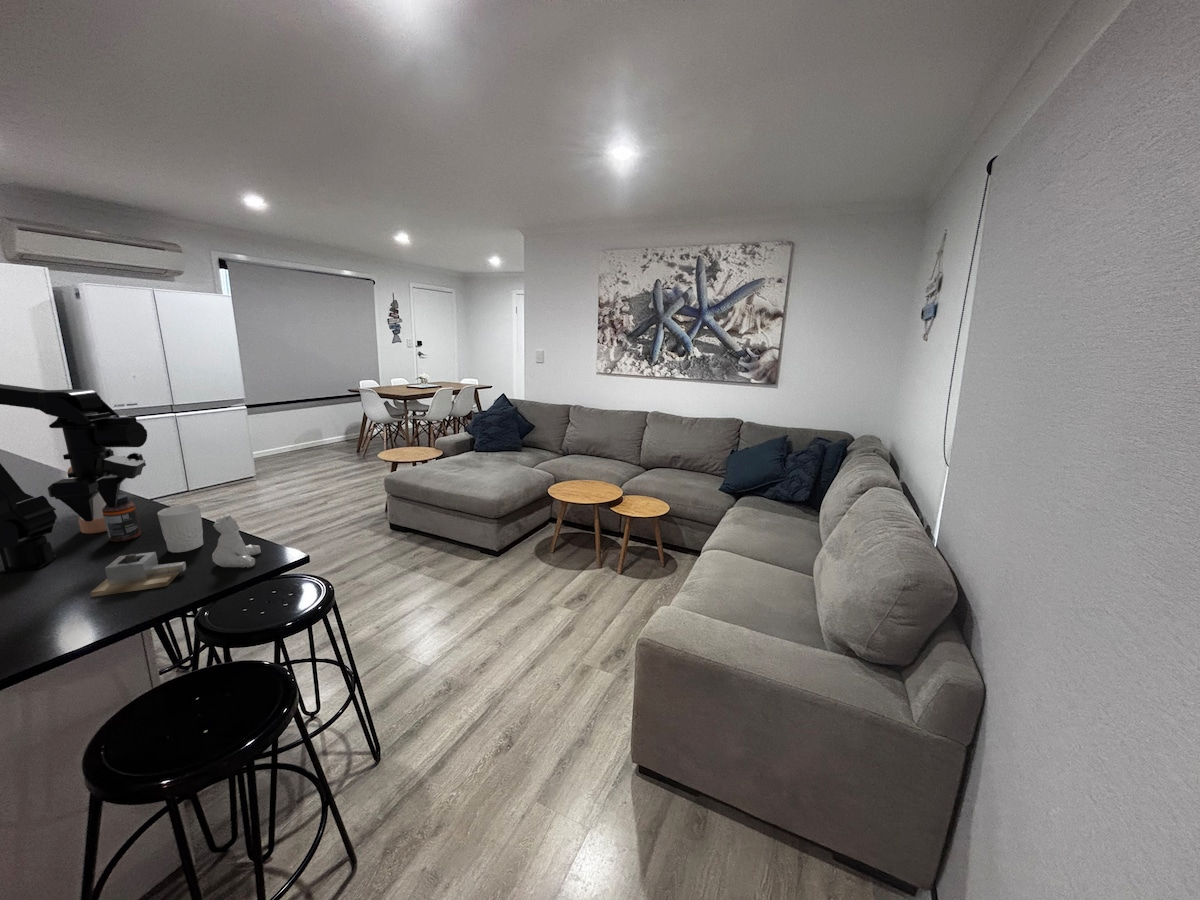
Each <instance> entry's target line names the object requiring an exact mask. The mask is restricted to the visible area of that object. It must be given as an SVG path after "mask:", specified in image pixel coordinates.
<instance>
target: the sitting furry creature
mask: <svg viewBox="0 0 1200 900" xmlns="http://www.w3.org/2000/svg"><path fill="white" fill-rule="evenodd" d="M231 515H232V514H230V513H227V514H226V513H225V514H223V516H222V515H221V516H218V518H217V519H216V520H215V522H214V523H213V527H214V529H215V530H216V531H217V532H218V533H220V536H219V538H218V539H217V546H216V548H214V551H213V553H212V555H211V557H212V562H213V563H215V565H217V566H218V567H221V568H245V567H247V568H251V567H254V566H255V564H256V558H254V557H252V556H254V555H258V554H261V546H260V545H258V544H257V545H255V544H248V545H246V544H245V542H244V541H243V538H242V537H241V534H240V531H239V530H240V529H241V527H240V526H239V524H238V521H237V519H234V518H233V516H231Z"/></svg>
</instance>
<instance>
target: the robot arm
mask: <svg viewBox="0 0 1200 900" xmlns="http://www.w3.org/2000/svg"><path fill="white" fill-rule="evenodd" d="M0 405H3V406H11V407H18V408H25V409H26V408H27V409H34V410H36V411H37V410H38V411H40V412H42V413H44V414H45V415H48V416H52V417H56V420H54V421H52V422H51V423H50V424H48V427H49V428H50V429H62V433H63V437H64V442H65V446H66V450H67V453H65V454H63V455H62V458H63V460H64V461H65V460H66V461H67V460H69V464H70V467H71V468H72V472H70V473H67V472H66V473H67V478H62V479H60V480H58V481H55V482H53V483H51V484H50V485H49V486H48V487H47V492H48V496H49V497H50V498H55V499H56V500H60V501H61V502H62V503H63V504H65V506H68V507H69V508H70V509H71V510H73V512H75V513H76V514H77V515H78V517H79V518H80V517H81V518H83V519H84V520H85V521H86V522H89V521H93V516H94V513H93V497H94V496H95V495H96V494H97V493H100V495H101V497H102V498H103V500H104V501H105V503H106V504H107V505H108V507H109V508H113V507H116V504H117V499H118V495H119V493H120V488H121V484H122V483H123V482H124V481H125V480H126V479H131V480H132V479H135V478H136V477H138V476H141V475H142V473H143V472H142V471H143V469H144V467H146V465H147V464H146V460H145V459H144V457H143V454H141V453H139V452H131V453H129V454H128V455H127V456H126V455H122V456H118V455H115V453H114V450H112V449H111V448H140V447H142V446H144V444H145V443H146V442H147V440H148V431H147V429H146V428H145V427H144V426H145V425H143V424H142V423H141V422H140V421H139V422H138V420H137V417H136V416H126V417H125V416H124V417H122V416H121V417H120V415H119V414H118V413H117V412H116V411H114V409H112V408H111V406H110V405H108V404H107V403H106V402H105V400H103V399H102V398H101V396H100V395H99V394H98V393H97V391H95V390H93V389H90V388H89V389H88V388H79V389H78V388H75V389H74V388H73V389H72V388H71V389H43V388H35V387H26V386H20V385H19V386H18V385H11V384H4V383H3V384H1V383H0ZM76 477H77V478H76ZM96 490H98V491H96ZM56 510H57V509H56V507H54V506H52V504H51V503H50V502H49V500H48V498H47V497H45V496H44V495H42V494H41V495H38V496H33V495H30V494H28V493H26V492H25V491H24V490H23V489H22V488H21V486H20V485H19V484H18V483H17V482H16V480H15V479H14V478H13V477H12V476H11V474H10V473H9V472H8V470H6V469H5V466H3V464H1V462H0V560H1V563H2V567H3V568H1V569H0V574H5V573H15V572H22V571H30V570H39V569H41V568H42V567H44V566H45V565H47V564H49V563H50V562H51V561H53V560H55V559H56V558H57V555H56V554H54V552H53V547H52V544H51V542H50V541H48V539H47V534H51V533H52V532H53V529H54V525H55V523H56V520H57V518H58V517H57V514H56V512H55V511H56Z"/></svg>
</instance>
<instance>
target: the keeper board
mask: <svg viewBox="0 0 1200 900" xmlns="http://www.w3.org/2000/svg"><path fill="white" fill-rule="evenodd" d="M136 554H137V553H130V554H127V555H126V556H125V559H126V563H132V562H137V558H136ZM180 562H181V561H180ZM180 562H179V561H178V562H176V563H180ZM184 562H185V564H186V565H187V563H186V561H184ZM172 563H173V562H171V564H172ZM180 573H181V572H177V573H169V574H165V575H157V576H151V577H150V578H149V579H148V580H147V581H141V582H133V583H126V584H119V585H112V586H109V584H108V580H107V578H105V580H104V581H102V582H101V583H99V585H97V586H96V587H95V588H94V589H93V590H92V591H90V596H91V597H92V598H93V597H99V596H100V597H101V596H107V595H114V594H120V593H121V594H122V593H129V592H136V591H142V590H148V589H149V590H150V589H156V588H163V587H168V586H169V585H171V583H172V582H173V581H174V580H175V578H176V577H177V576H178V575H180Z"/></svg>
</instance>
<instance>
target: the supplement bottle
mask: <svg viewBox="0 0 1200 900" xmlns="http://www.w3.org/2000/svg"><path fill="white" fill-rule="evenodd" d="M102 512H103V516H104V521H105V525H106V529H107V531H106V533H107V537H108V539H109V541H111V542H114V543H115V542H116V543H117V542H126V541H130V540H132V539H136V538H138V537H139V536H141V534H142V531H141V527H140V522H139V518H138V513H137V509H136V504H135V503H134V502H132V501H129V498H128V495H127V494H118V499H117V504H116V507H113V508H109V507H108V505H107V504H106V505H105V507H103V509H102Z"/></svg>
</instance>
